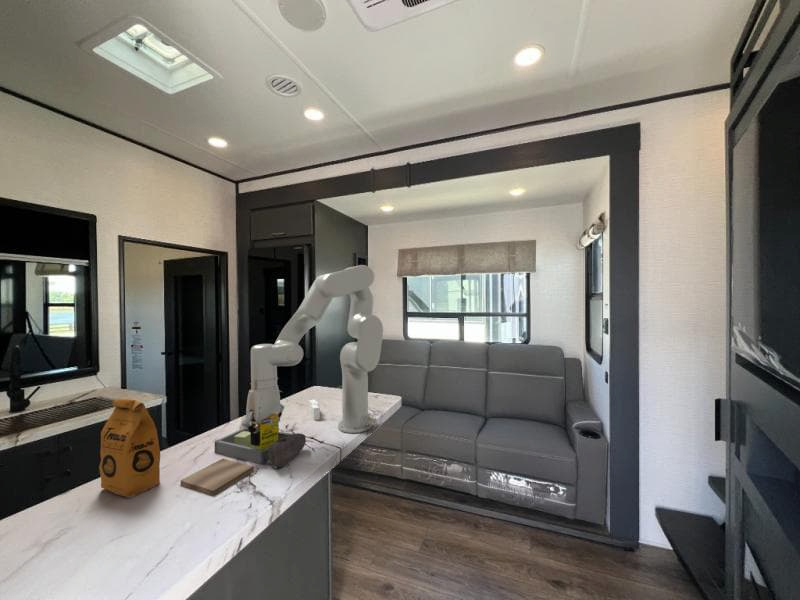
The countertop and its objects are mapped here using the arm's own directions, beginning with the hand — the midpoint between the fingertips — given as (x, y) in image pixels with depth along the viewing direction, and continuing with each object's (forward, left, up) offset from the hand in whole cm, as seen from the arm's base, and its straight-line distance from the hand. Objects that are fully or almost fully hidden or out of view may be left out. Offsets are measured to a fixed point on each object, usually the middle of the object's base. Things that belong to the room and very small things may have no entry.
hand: (265, 439), depth 98 cm
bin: (+4, 0, -3) cm, 5 cm away
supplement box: (0, 0, -4) cm, 4 cm away
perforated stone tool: (-11, +2, -4) cm, 12 cm away
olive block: (+9, 0, -4) cm, 9 cm away
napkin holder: (+5, -30, -4) cm, 31 cm away
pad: (0, +16, -3) cm, 17 cm away
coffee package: (+17, +27, -4) cm, 32 cm away
